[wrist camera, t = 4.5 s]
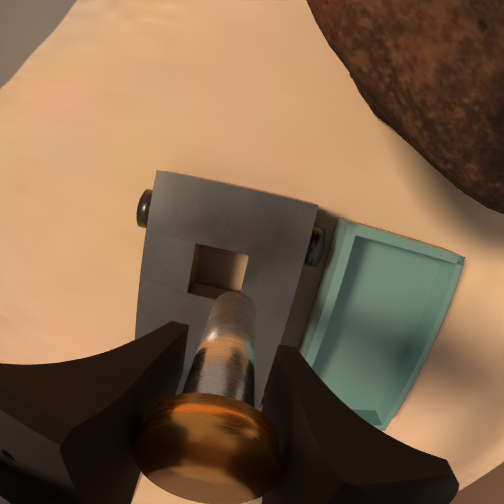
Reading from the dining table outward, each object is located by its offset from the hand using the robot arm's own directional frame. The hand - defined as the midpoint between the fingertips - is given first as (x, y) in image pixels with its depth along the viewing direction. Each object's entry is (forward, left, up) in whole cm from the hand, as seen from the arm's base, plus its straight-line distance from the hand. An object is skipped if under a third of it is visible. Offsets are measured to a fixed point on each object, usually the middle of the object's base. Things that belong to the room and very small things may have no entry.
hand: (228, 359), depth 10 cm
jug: (+17, -9, -11) cm, 22 cm away
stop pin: (0, 0, -4) cm, 4 cm away
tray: (-3, -9, -10) cm, 14 cm away
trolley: (-3, +2, -10) cm, 11 cm away
